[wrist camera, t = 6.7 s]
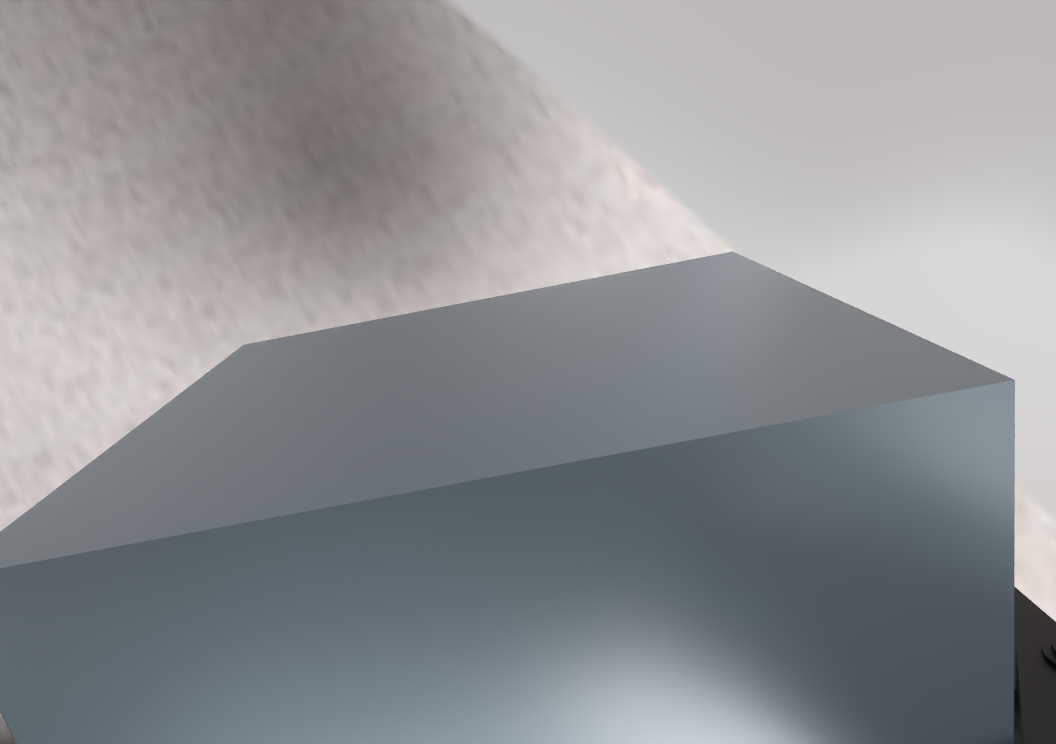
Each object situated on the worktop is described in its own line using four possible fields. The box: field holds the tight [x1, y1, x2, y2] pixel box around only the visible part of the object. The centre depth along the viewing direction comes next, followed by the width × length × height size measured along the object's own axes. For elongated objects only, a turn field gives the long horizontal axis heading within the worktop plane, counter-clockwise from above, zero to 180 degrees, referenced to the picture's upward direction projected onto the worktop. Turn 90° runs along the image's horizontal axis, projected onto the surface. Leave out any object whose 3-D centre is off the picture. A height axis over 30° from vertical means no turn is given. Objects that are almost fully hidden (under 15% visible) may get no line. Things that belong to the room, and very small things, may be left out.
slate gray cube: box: [0, 252, 1015, 744], centre depth 13 cm, size 10×10×9 cm
